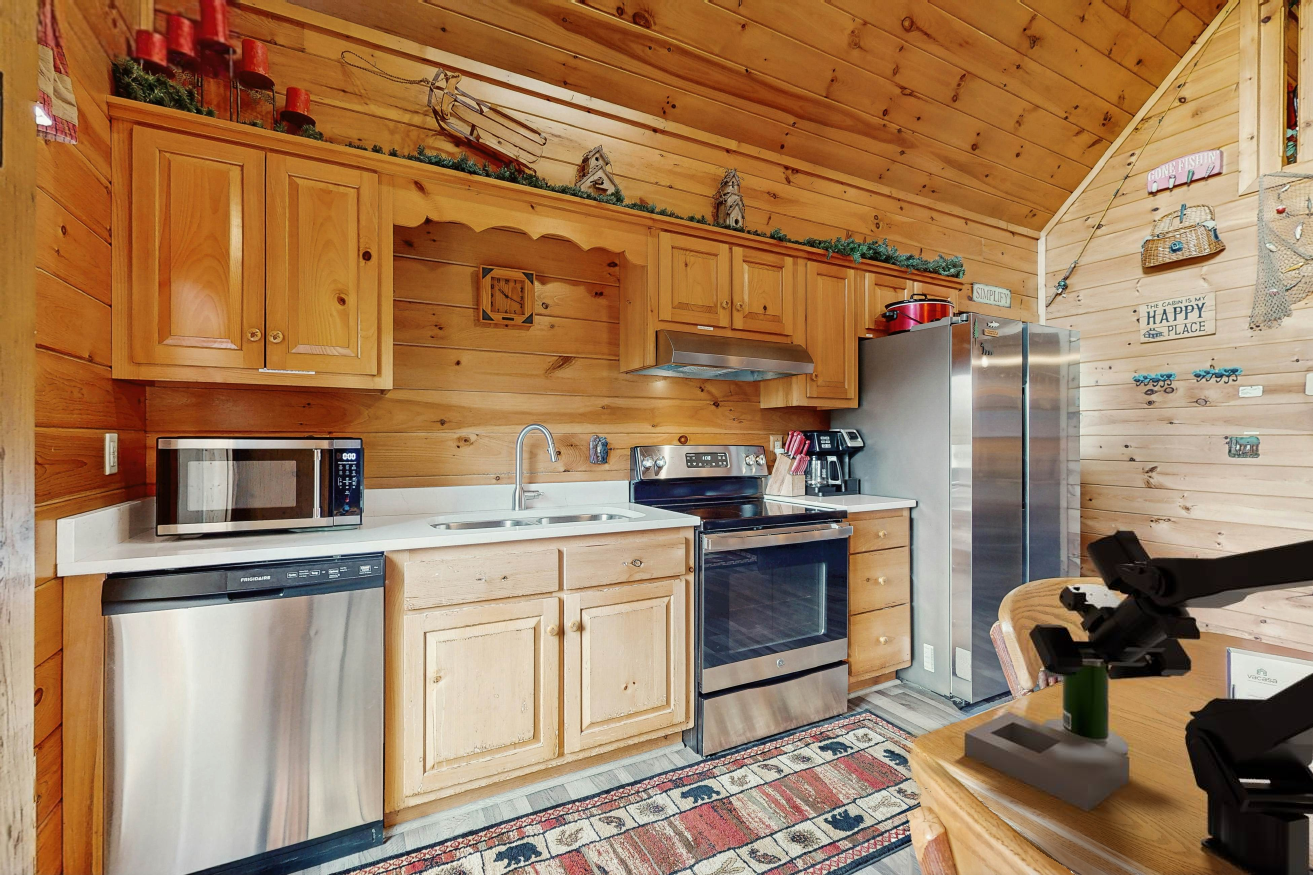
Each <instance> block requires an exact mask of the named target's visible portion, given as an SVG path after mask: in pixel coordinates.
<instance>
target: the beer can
mask: <svg viewBox="0 0 1313 875" xmlns="http://www.w3.org/2000/svg"><path fill="white" fill-rule="evenodd" d="M1109 668H1110V665H1106V664H1105V662H1104V661H1094V660H1082V668H1081V669H1080V670H1079V671H1076V672H1075V673H1076V674H1075V675H1068V676H1062V719H1063V727H1064V729H1065V731H1066V733H1067V734H1069V735H1072V736H1074V737H1077V738H1080V739H1082V740H1085V741H1088V742H1090V743H1096V744H1100V743H1104V742H1106V740H1107V738H1108V736H1109V731H1110V729H1109V728H1110V727H1109V726H1110V725H1109V724H1110V723H1109V722H1110V719H1109V716H1110V714H1109V710H1110V709H1109V707H1110V705H1109V703H1110V700H1109V698H1110V695H1109V694H1110V693H1109V692H1110V690H1109V689H1110V687H1109V685H1110V678H1109Z"/></svg>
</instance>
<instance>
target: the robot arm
mask: <svg viewBox="0 0 1313 875" xmlns="http://www.w3.org/2000/svg"><path fill="white" fill-rule="evenodd" d="M1085 553H1086V555H1087V557H1088V558H1089V559H1090V561H1091V564H1092V565H1093V567H1094V568H1095V570H1096V572H1097V573H1098V575H1099V576H1100V578H1101V579H1102V581H1103V583H1104V585H1102V584H1095V583H1094V584H1088V583H1087V584H1085V583H1075V584H1073V585H1067V586H1066V587H1064V588H1063V589H1061V592H1060V593H1059V597H1058V600H1059V602H1060V603H1061V604H1062V606H1063V607H1064V608H1065V609H1066V610H1067V612H1076V613H1077V614H1078V615H1079V616H1080V617H1081V618H1082V619H1083V620H1082V621H1080V626H1081V628H1082V630H1083V632H1085V633H1088V635H1087V640H1086V641H1085V640H1074V639H1073V637H1072V635H1071V633H1070V631H1069V629H1068V627H1066V626H1064V625H1062V624H1051V623H1050V624H1049V623H1048V624H1046V623H1044V624H1043V623H1036V625H1034V626H1033V628H1032V629H1031V630H1030V631H1029V633H1028V635H1029V637H1030V640H1031V642H1032V643H1033V646H1034V648H1035V650H1036V653H1037V655H1038V657H1039V659H1040V661H1041V663H1042V666H1043V673H1044V675H1045V677H1046V678H1047V679H1051V678H1054V679H1055V678H1060V677H1063V676H1068V675H1075V674H1076V673H1075V672H1076V671H1079V670H1080V669H1081V668H1082V660H1094V661H1104V662H1105V664H1106V665H1109V680H1112V681H1113V680H1132V679H1133V680H1134V679H1150V678H1151V679H1152V678H1156V679H1157V678H1171V677H1184V676H1185V675H1186V674H1188V673H1190V672H1191V671H1192V660H1191V658H1190V657H1189V655H1188V654H1187V652H1186V651H1185V649H1184V647H1183V646H1182V644H1181V642H1180V641H1179V640H1192V641H1193V640H1194V641H1197V640H1198V641H1199V640H1200V639H1201V630H1200V629H1199V627H1198V625H1197V618H1195V617H1193V616H1191V615H1190V614H1191V613H1190V612H1189V610H1188V609H1189V608H1191V609H1221V608H1225V607H1228V606H1231V605H1232V606H1233V605H1235V604H1238V603H1241V602H1244V600H1245V599H1246V598H1247V597H1249V596H1251V595H1254V594H1257V593H1262V592H1270V591H1271V592H1272V591H1279V590H1289V589H1290V590H1291V589H1296V588H1297V589H1298V588H1306V587H1313V539H1310V540H1304V541H1299V542H1295V543H1288V544H1285V545H1284V544H1283V545H1278V546H1272V547H1266V548H1263V549H1258V550H1257V549H1256V550H1252V551H1247V552H1242V553H1241V552H1240V553H1236V554H1230V555H1229V554H1228V555H1224V556H1220V557H1219V556H1218V557H1215V558H1213V557H1211V558H1210V557H1207V558H1206V557H1152V558H1151V557H1150V555H1149V554H1148V552H1147V551H1146V550H1145V548H1144V547H1143V545H1142V543H1141V541H1140V540H1139V537H1138V536H1137V534H1136V532H1134V530H1127V529H1125V530H1124V529H1123V530H1120V529H1119V530H1116V531H1115V533H1114V534H1111V535H1106V536H1103V537H1101V538H1098V539H1096V540H1093V541H1091V542H1090V543H1088V544H1087V546H1086V548H1085ZM1114 592H1119V593H1120V594H1122V595H1126V596H1125V597H1124V599H1123V600H1121V599H1120V598H1119V597H1118V596H1117V595H1116V594H1115V593H1114ZM1189 715H1191V716H1192V717H1193V718H1191V719H1190V720H1189V721H1187V723H1186V725H1185V728H1184V730H1185V735H1184V740H1185V748H1186V750H1187V755H1188V758H1189V761H1190V766H1191V769H1192V773H1193V776H1194V779H1195V783H1196V786H1197V788H1199V789H1201V790H1202V791H1204V792H1205V793H1206V795H1207V797H1206V798H1207V799H1206V801H1207V804H1206V805H1207V808H1206V809H1207V816H1206V818H1207V819H1206V821H1207V822H1206V823H1207V824H1206V825H1207V827H1206V828H1207V835H1208V836H1209V837H1207V838H1202V839H1200V843H1201V844H1200V845H1201V846H1202V847H1203V848H1205V849H1206V850H1208V851H1209V852H1212V853H1214V854H1215V855H1217V856H1219V857H1220V858H1222V859H1224V860H1225V861H1228V862H1229V863H1231V864H1233V865H1234V866H1236V867H1238V868H1240V869H1242V871H1245V872H1246V873H1247V874H1250V875H1313V867H1312V866H1310V816H1308V815H1313V771H1312V769H1311V768H1310V766H1311V765H1312V764H1313V672H1312V673H1310V674H1308V675H1307V676H1304V677H1302V678H1300V680H1297V681H1296V682H1294V683H1292V684H1291V685H1288V686H1287V687H1286V688H1283V689H1282V690H1280V691H1279V692H1276V693H1275V694H1273V695H1271V696H1269V697H1268V698H1265V699H1263V698H1236V697H1235V698H1233V697H1232V698H1229V697H1215V698H1213V699H1211V700H1209V701H1208V702H1207V703H1206V704H1205V705H1204V706H1203V707H1202V708H1200V709H1198V710H1196V711H1195V710H1193V711H1192V710H1190V711H1189ZM1241 780H1256V781H1257V780H1258V781H1261V780H1263V781H1269V782H1255V781H1250V782H1249V781H1241Z"/></svg>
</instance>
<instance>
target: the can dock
mask: <svg viewBox="0 0 1313 875" xmlns="http://www.w3.org/2000/svg"><path fill="white" fill-rule="evenodd" d="M964 755H965V756H967V757H968V758H972V760H975V761H978V762H980V763H982V764H983V765H986V766H989V767H991V768H993V769H995V770H996V771H999V772H1001V773H1004V774H1006V775H1007V776H1010V777H1012V778H1015V779H1017V780H1018V781H1021V782H1023V783H1026V784H1027V785H1030V786H1032V787H1034V788H1036V789H1038V790H1040V791H1043V792H1044V793H1047V794H1049V795H1052V796H1053V797H1056V798H1058V799H1059V800H1062V801H1064V802H1066V803H1068V804H1071V805H1072V806H1075V807H1076V808H1079V809H1082V810H1083V811H1086V812H1089V811H1091V810H1092V809H1094V808H1095V807H1096V806H1098V805H1099V804H1100V803H1102V802H1103V801H1105V800H1106V799H1107V798H1108V797H1109V796H1112V794H1113V793H1115V792H1117V791H1118V790H1119V789H1120V788H1122V787H1123V786H1125V785H1126V784H1127V783H1128V782H1130V756H1127V755H1122V754H1120V753H1117V752H1114V751H1112V750H1109V749H1106V748H1104V747H1101V746H1098V745H1096V744H1093V743H1090V742H1088V741H1085V740H1082V739H1080V738H1077V737H1074V736H1072V735H1069V734H1066V733H1064V732H1061V731H1058V730H1056V729H1053V728H1050V727H1048V726H1045V725H1043V724H1042V723H1039V722H1037V721H1034V720H1032V719H1029V718H1026V717H1023V716H1021V715H1018V714H1016V713H1012V712H1010V711H1009V712H1006V713H1003V714H1001V715H999V716H998V717H995V718H994V719H991V720H989V721H987V722H984V723H982V724H980V725H978V726H976V727H974V728H971V729H969V730H967V731H965V732H964Z"/></svg>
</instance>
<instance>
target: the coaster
mask: <svg viewBox="0 0 1313 875" xmlns="http://www.w3.org/2000/svg"><path fill="white" fill-rule="evenodd" d="M1042 725H1045V726H1048V727H1050V728H1053V729H1056V730H1058V731H1061V732H1064V733H1066V731H1065V729H1064V727H1063V718H1051V719H1050V718H1049V719H1047V720H1045V721H1044V722H1043V724H1042ZM1066 734H1067V733H1066ZM1093 744H1096V743H1093ZM1096 745H1098V746H1101V747H1104V748H1106V749H1109V750H1112V751H1114V752H1117V753H1120V754H1122V755H1125V756H1127V755H1128V753H1129V750H1130V749H1129V744H1128V742H1127V740H1126V739H1125V738H1124V737H1122V736H1121V735H1119V734H1117V733H1115V732H1113V731H1112V730H1109V736H1108V738H1107V740H1106V742H1104V743H1100V744H1096Z"/></svg>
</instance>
